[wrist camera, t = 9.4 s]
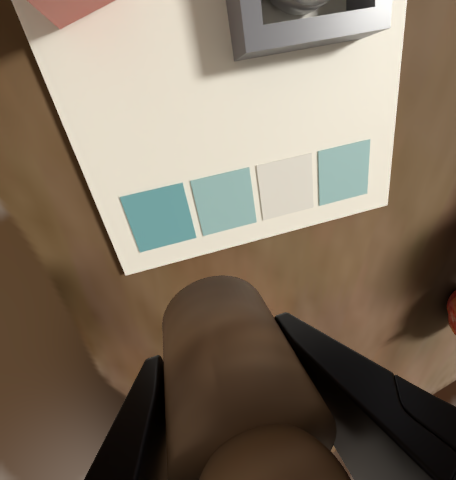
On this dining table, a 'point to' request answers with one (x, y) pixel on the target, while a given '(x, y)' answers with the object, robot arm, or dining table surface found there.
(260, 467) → the pawn
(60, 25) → the die
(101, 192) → the board
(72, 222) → the dining table surface
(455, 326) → the pomegranate
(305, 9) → the dome
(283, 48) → the dome housing
